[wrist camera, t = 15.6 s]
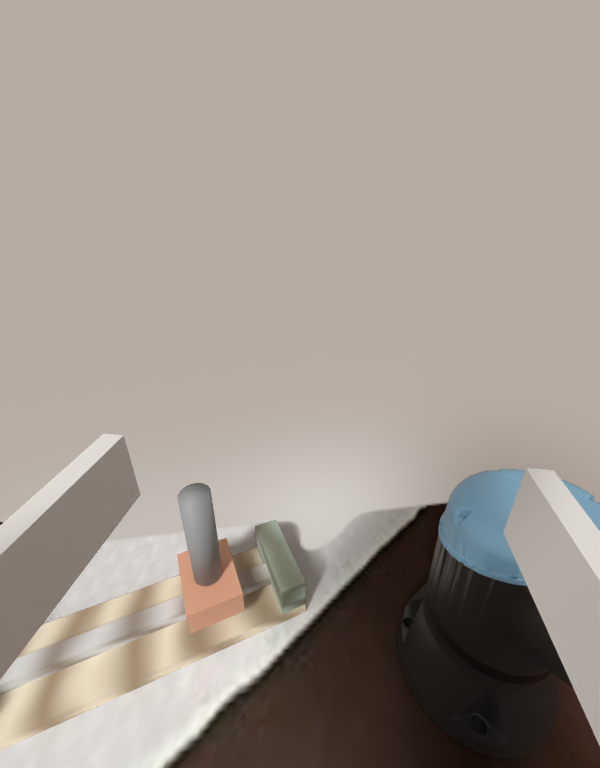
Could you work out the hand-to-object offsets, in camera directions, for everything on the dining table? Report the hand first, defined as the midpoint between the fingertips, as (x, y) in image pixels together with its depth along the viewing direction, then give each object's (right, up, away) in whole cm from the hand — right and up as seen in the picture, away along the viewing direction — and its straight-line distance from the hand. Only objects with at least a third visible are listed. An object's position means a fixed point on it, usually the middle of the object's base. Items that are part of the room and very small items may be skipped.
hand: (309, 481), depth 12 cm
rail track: (-18, -26, +28) cm, 42 cm away
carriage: (-11, -22, +30) cm, 39 cm away
